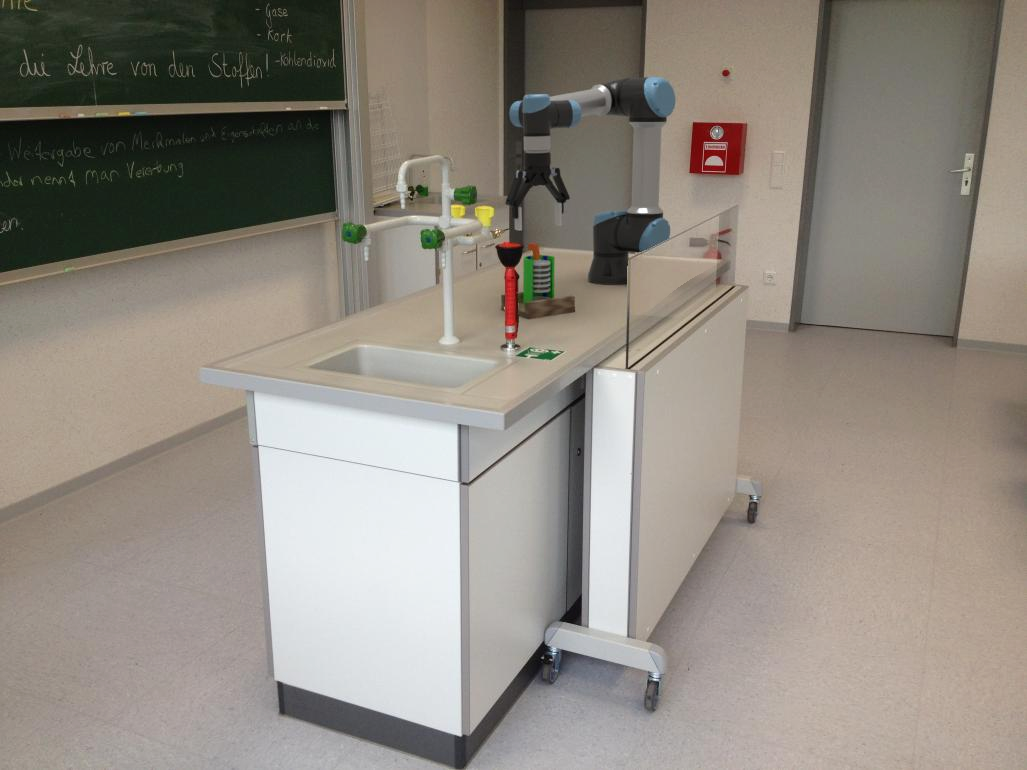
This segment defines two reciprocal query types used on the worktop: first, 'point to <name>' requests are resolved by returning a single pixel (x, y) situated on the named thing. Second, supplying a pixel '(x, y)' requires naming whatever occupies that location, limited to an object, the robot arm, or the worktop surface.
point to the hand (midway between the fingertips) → (538, 227)
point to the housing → (543, 306)
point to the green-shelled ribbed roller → (537, 276)
